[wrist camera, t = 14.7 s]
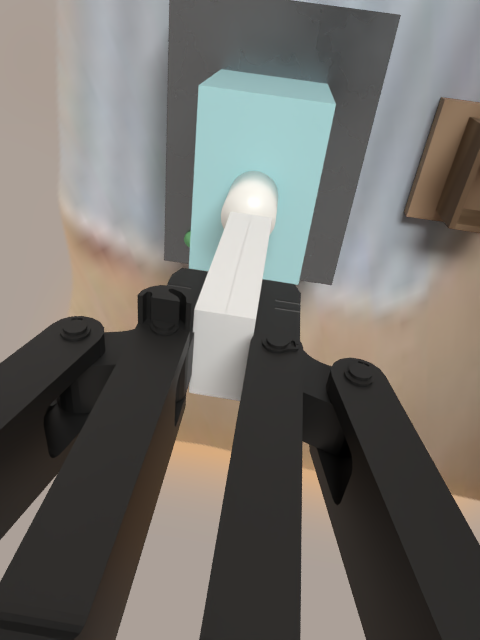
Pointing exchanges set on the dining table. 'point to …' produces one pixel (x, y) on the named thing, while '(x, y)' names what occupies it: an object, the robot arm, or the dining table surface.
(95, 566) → the robot arm
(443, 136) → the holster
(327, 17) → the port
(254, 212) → the teal and white block
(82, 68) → the dining table surface
